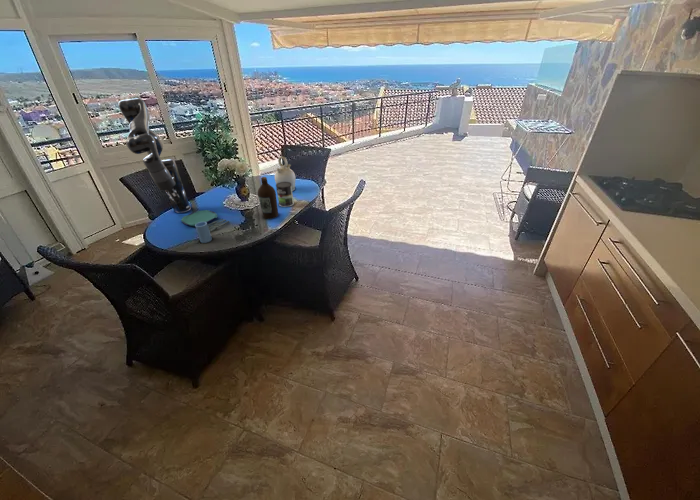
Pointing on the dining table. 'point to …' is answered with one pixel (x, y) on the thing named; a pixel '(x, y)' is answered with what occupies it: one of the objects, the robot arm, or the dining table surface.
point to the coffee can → (285, 194)
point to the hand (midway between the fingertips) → (179, 206)
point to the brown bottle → (267, 200)
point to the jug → (285, 173)
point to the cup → (203, 232)
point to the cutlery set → (202, 218)
